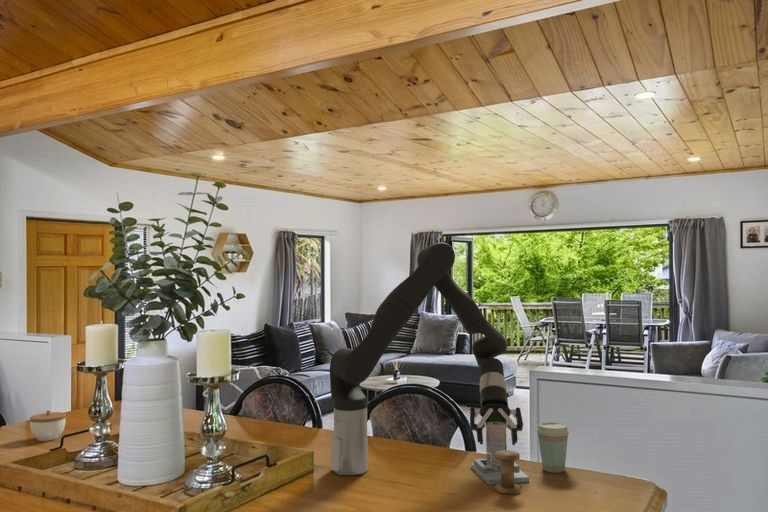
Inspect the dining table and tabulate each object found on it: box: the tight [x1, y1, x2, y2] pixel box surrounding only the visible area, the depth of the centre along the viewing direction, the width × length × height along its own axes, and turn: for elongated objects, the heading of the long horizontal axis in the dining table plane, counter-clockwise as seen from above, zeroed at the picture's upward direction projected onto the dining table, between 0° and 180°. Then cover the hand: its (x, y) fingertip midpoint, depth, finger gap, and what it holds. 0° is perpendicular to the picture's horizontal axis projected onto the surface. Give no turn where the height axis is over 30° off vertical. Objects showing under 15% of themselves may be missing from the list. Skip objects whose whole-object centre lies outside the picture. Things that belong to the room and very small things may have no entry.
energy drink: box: [485, 421, 508, 471], centre depth 164 cm, size 5×5×12 cm
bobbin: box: [495, 449, 521, 496], centre depth 150 cm, size 6×6×9 cm
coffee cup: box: [536, 421, 570, 474], centre depth 166 cm, size 8×8×12 cm
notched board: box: [470, 458, 530, 486], centre depth 162 cm, size 14×11×2 cm
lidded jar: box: [29, 409, 67, 442], centre depth 205 cm, size 11×11×9 cm
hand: (497, 443), depth 162 cm, fingers open, 8 cm apart
